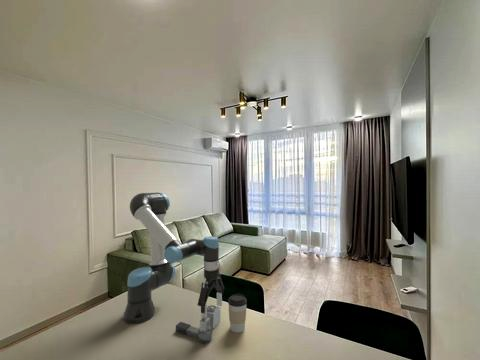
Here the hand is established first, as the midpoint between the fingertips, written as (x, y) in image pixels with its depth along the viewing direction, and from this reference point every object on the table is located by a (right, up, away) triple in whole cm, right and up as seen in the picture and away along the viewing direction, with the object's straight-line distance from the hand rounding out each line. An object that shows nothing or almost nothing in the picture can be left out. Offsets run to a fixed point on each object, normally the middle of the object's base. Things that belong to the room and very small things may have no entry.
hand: (212, 312), depth 112 cm
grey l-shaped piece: (-7, -5, -9) cm, 13 cm away
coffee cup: (+13, -6, -4) cm, 14 cm away
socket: (0, -6, 0) cm, 6 cm away
